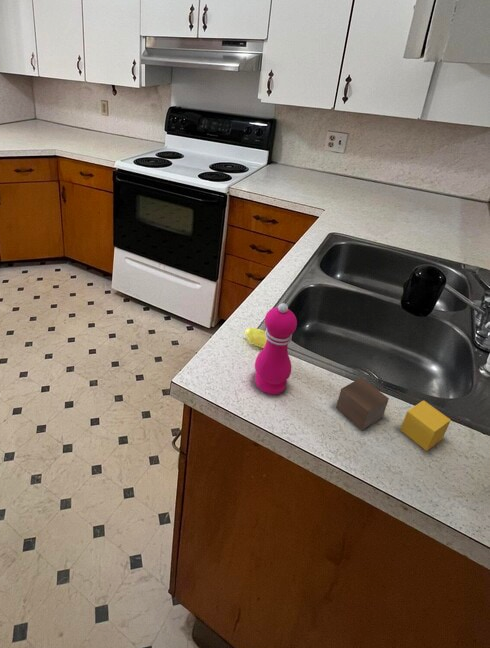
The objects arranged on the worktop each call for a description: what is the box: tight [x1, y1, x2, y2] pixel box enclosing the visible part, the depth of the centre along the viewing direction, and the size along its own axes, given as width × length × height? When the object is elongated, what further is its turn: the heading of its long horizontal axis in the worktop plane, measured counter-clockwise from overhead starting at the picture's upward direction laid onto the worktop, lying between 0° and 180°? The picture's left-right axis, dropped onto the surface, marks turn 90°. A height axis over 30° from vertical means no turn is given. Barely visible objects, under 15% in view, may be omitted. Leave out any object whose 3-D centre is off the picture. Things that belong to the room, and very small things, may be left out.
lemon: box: [244, 327, 267, 349], centre depth 98 cm, size 4×8×4 cm, turn 46°
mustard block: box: [399, 399, 452, 452], centre depth 77 cm, size 5×5×5 cm
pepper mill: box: [254, 302, 298, 395], centre depth 84 cm, size 7×7×20 cm
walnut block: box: [335, 377, 390, 431], centre depth 81 cm, size 6×6×5 cm
